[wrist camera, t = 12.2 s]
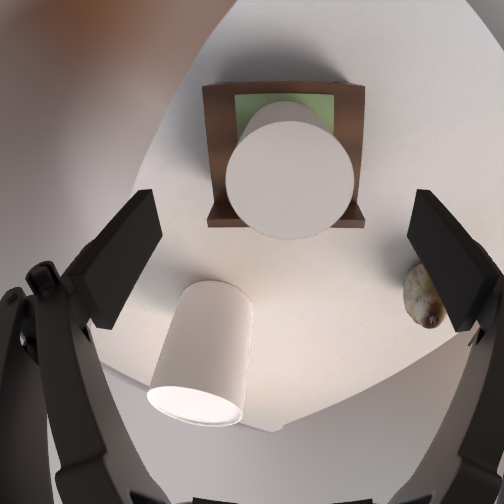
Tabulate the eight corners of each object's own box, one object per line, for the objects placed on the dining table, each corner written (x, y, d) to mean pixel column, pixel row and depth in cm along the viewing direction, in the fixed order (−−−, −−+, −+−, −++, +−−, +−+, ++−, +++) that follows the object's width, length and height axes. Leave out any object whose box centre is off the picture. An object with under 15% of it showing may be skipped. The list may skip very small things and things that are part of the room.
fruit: (403, 250, 42) (430, 304, 32) (450, 248, 40) (482, 298, 31) (391, 298, 47) (409, 352, 38) (435, 294, 46) (457, 343, 37)
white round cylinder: (311, 186, 30) (327, 251, 21) (237, 165, 30) (215, 222, 20) (336, 115, 26) (372, 146, 16) (256, 91, 25) (241, 105, 15)
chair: (215, 83, 30) (190, 89, 22) (350, 82, 29) (377, 89, 20) (224, 187, 38) (207, 227, 30) (344, 187, 37) (364, 228, 28)
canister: (179, 324, 56) (152, 414, 39) (180, 273, 48) (141, 376, 32) (246, 337, 56) (235, 431, 40) (260, 289, 48) (250, 399, 32)
